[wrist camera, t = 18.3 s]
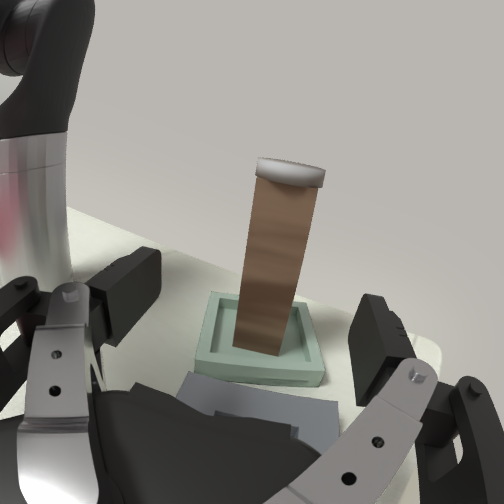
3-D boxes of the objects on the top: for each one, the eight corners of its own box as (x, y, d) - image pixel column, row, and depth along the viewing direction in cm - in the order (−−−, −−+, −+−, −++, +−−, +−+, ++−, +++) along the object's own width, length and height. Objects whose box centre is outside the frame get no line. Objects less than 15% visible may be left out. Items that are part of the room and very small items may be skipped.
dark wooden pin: (282, 360, 22) (328, 173, 16) (226, 348, 23) (252, 159, 17) (287, 327, 27) (323, 168, 21) (239, 317, 27) (263, 156, 21)
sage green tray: (194, 376, 20) (194, 359, 19) (209, 307, 29) (211, 291, 29) (318, 386, 21) (325, 370, 20) (301, 317, 30) (306, 302, 29)
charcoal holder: (315, 548, 8) (336, 542, 7) (136, 511, 9) (124, 499, 8) (323, 424, 17) (337, 401, 16) (189, 397, 18) (188, 371, 17)
